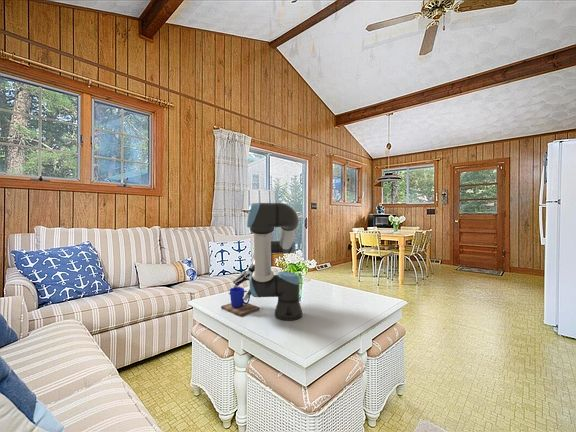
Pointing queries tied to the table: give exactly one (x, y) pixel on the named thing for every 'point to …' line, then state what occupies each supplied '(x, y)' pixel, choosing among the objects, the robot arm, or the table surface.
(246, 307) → the walnut board
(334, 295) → the table surface
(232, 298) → the mug
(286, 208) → the robot arm
